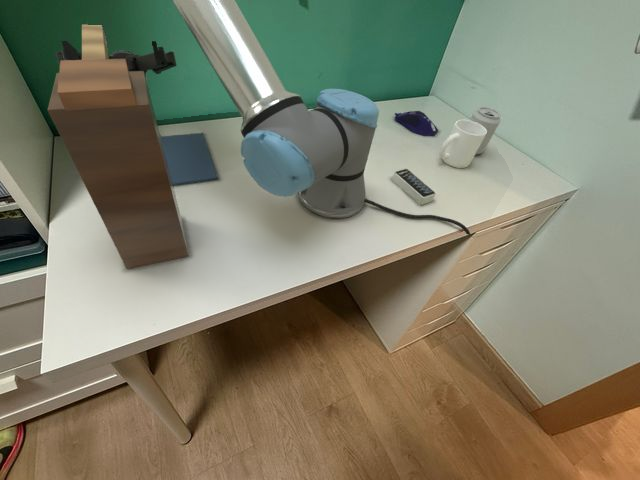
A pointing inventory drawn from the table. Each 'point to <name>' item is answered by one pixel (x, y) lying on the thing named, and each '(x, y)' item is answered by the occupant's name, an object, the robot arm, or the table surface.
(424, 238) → the table surface
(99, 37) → the paddle
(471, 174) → the table surface
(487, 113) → the can
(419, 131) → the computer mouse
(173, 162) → the mat
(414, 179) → the multiport hub
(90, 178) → the plinth
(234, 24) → the robot arm
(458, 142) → the mug
